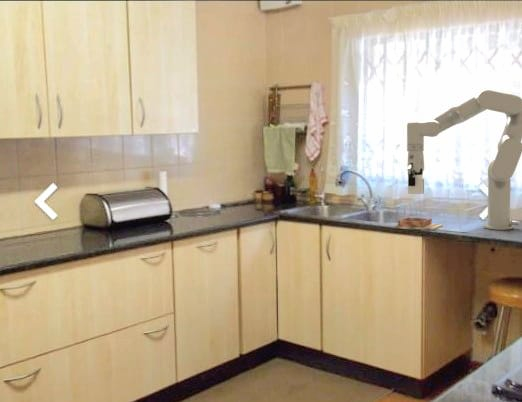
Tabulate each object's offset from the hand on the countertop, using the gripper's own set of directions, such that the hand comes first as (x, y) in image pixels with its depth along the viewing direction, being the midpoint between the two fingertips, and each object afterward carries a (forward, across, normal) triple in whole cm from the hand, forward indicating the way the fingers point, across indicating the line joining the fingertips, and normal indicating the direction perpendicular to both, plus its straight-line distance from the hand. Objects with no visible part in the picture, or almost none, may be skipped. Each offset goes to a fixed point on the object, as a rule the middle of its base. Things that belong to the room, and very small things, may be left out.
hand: (415, 184), depth 303 cm
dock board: (+20, 0, -2) cm, 20 cm away
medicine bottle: (+4, 0, 0) cm, 4 cm away
